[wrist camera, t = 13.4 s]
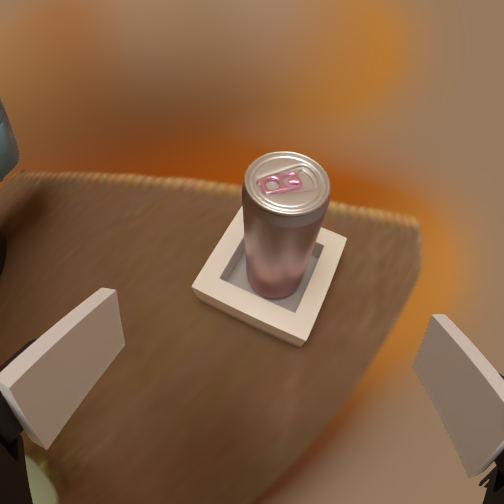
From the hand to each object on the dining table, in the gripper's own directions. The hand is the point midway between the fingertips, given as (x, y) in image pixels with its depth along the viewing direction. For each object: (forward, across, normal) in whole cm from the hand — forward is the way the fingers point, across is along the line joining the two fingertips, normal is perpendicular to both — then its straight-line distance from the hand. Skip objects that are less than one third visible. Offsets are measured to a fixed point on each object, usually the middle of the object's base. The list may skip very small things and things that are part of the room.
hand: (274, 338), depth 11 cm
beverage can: (+20, 0, -5) cm, 21 cm away
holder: (+21, 0, -6) cm, 21 cm away
